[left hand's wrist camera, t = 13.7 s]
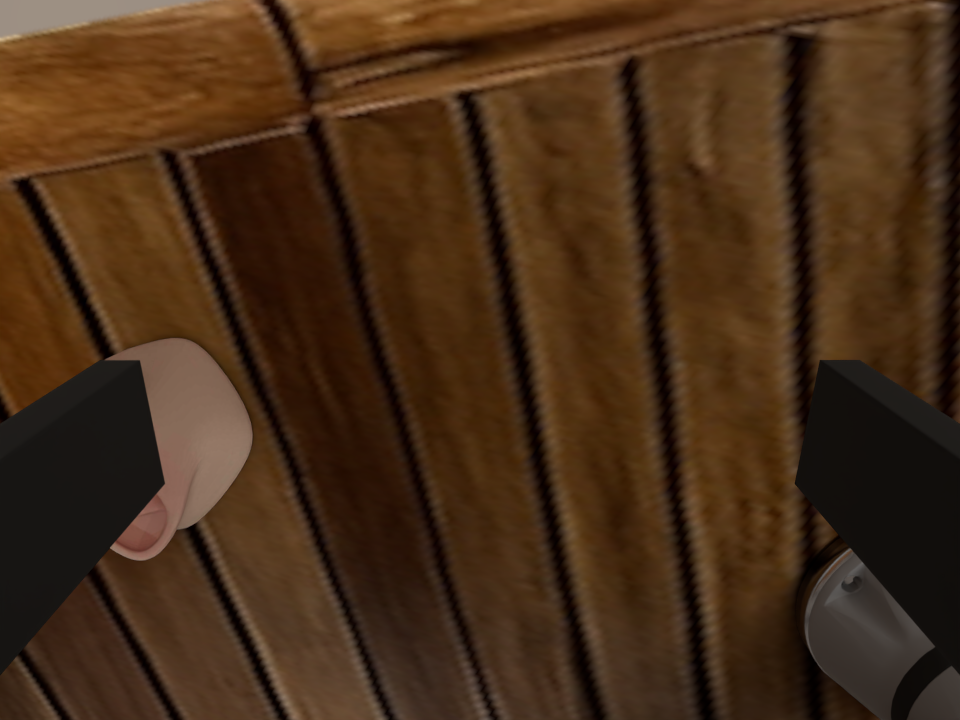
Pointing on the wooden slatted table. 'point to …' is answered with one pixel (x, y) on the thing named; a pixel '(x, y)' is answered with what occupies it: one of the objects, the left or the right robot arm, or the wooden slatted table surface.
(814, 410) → the left robot arm
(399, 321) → the wooden slatted table surface
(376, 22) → the wooden slatted table surface
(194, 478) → the anatomical model
